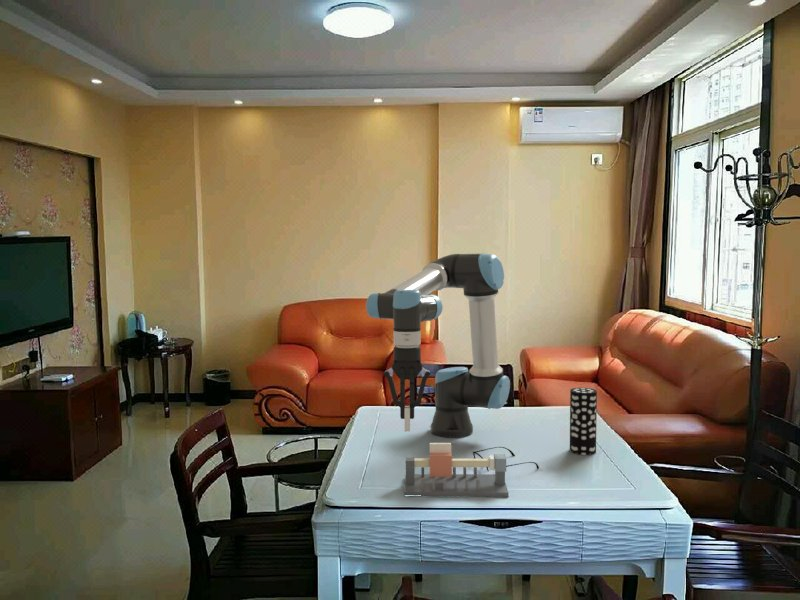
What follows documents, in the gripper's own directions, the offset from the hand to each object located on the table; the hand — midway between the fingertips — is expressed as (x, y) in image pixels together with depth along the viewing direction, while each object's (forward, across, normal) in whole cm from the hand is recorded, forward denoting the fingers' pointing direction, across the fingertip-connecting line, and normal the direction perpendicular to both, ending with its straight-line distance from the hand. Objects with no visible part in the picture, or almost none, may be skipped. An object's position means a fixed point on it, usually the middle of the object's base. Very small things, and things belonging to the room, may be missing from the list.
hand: (407, 430), depth 184 cm
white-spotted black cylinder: (+16, +56, +33) cm, 67 cm away
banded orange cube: (+12, +9, 0) cm, 15 cm away
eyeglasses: (+17, +30, +19) cm, 39 cm away
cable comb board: (+16, +13, 0) cm, 21 cm away
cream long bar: (+11, +14, 0) cm, 18 cm away
